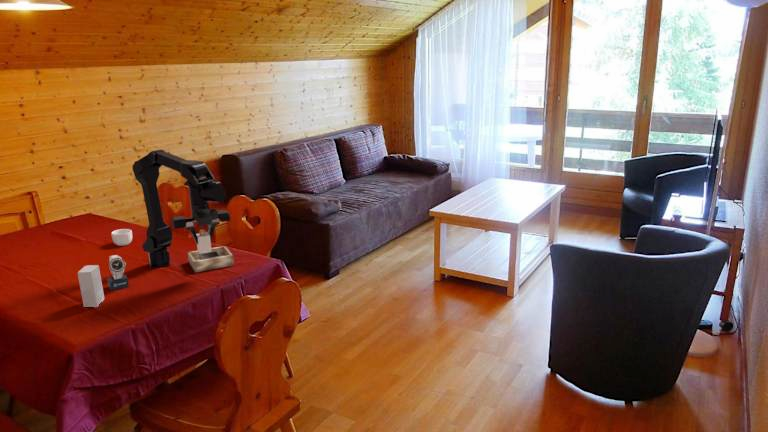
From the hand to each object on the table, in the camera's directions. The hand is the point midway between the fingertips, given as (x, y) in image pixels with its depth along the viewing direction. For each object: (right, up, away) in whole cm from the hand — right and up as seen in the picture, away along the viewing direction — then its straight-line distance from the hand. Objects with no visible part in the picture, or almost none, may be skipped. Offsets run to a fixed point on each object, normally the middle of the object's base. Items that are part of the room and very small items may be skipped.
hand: (203, 242), depth 195 cm
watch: (-27, -15, -4) cm, 31 cm away
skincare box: (-29, -19, -17) cm, 39 cm away
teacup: (-47, -2, +39) cm, 61 cm away
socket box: (-2, -9, +16) cm, 18 cm away
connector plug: (0, -3, +1) cm, 3 cm away
